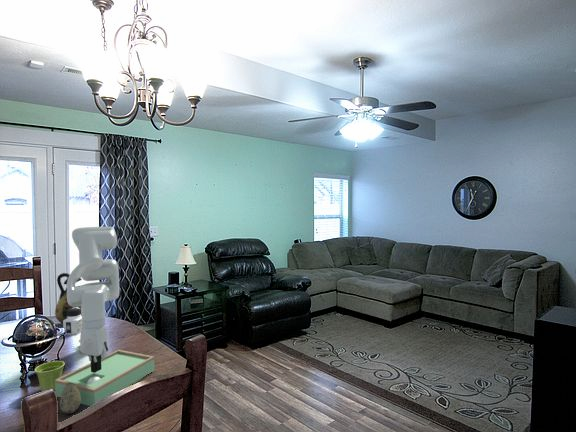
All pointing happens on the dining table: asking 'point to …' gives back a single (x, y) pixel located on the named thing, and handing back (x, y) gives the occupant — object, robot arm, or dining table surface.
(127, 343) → the dining table surface
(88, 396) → the putting tray
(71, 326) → the container
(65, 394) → the decorative egg
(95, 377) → the ball
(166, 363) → the dining table surface
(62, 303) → the ceramic jug
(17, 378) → the dining table surface
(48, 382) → the plant pot
